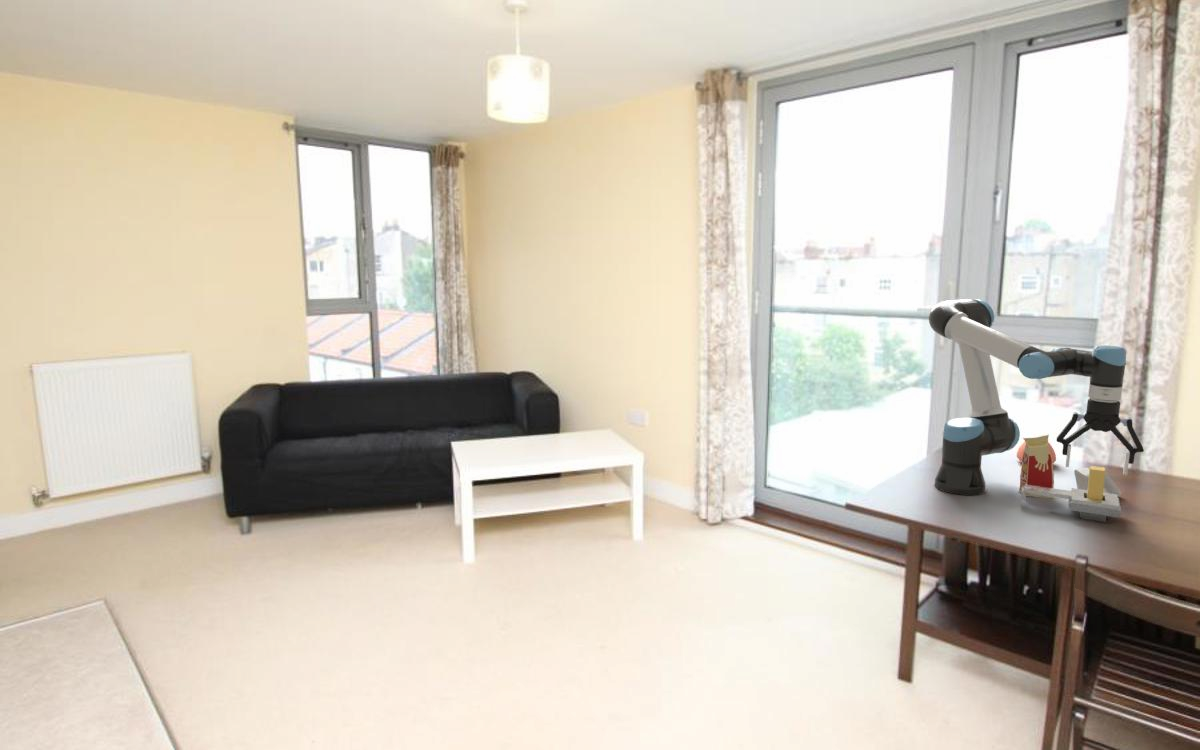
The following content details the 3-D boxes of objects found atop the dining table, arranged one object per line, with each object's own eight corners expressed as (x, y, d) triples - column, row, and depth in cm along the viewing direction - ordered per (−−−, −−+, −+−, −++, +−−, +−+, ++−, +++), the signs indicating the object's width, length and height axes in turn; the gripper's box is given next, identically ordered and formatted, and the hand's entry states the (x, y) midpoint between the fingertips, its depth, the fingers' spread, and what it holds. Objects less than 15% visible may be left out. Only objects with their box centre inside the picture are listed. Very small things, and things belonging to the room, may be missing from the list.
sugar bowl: (1011, 464, 243) (1013, 438, 241) (1022, 456, 252) (1024, 430, 251) (1050, 471, 234) (1052, 443, 233) (1060, 462, 244) (1062, 436, 242)
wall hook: (1128, 499, 204) (1123, 469, 203) (1092, 505, 206) (1086, 476, 205) (1114, 491, 211) (1109, 462, 210) (1079, 497, 214) (1073, 468, 213)
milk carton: (1047, 489, 216) (1052, 431, 213) (1053, 499, 208) (1059, 438, 205) (1015, 486, 220) (1020, 429, 217) (1020, 495, 212) (1025, 436, 208)
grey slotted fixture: (1019, 511, 199) (1020, 492, 198) (1021, 499, 209) (1023, 480, 208) (1119, 527, 185) (1121, 507, 184) (1117, 513, 195) (1119, 494, 194)
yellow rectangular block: (1086, 507, 192) (1090, 469, 190) (1086, 504, 195) (1089, 465, 193) (1101, 510, 190) (1105, 471, 188) (1100, 506, 193) (1104, 467, 191)
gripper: (1051, 397, 192) (1044, 465, 196) (1162, 407, 177) (1151, 481, 181) (1052, 392, 198) (1044, 459, 202) (1159, 401, 183) (1149, 473, 187)
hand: (1095, 469), depth 191 cm, fingers open, 13 cm apart
